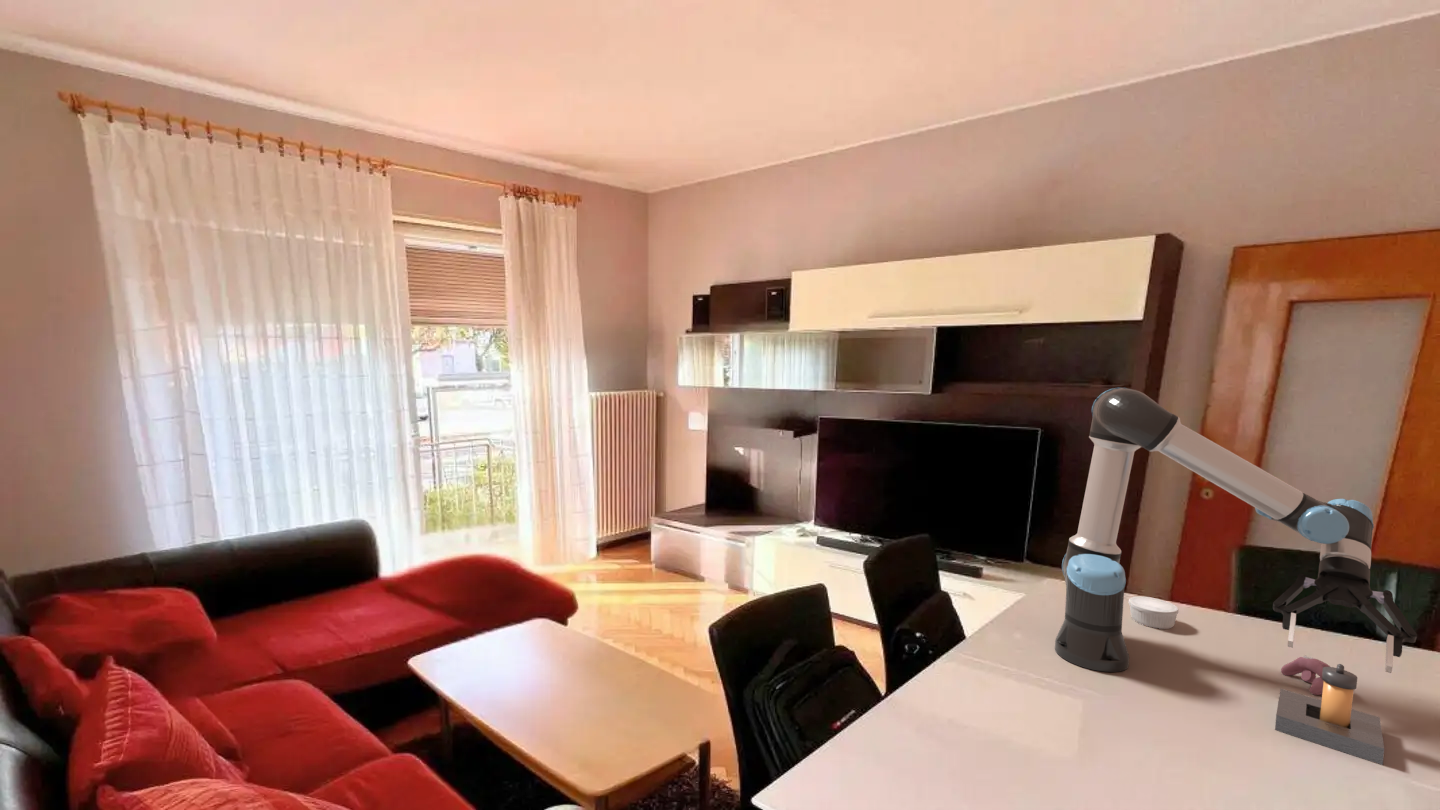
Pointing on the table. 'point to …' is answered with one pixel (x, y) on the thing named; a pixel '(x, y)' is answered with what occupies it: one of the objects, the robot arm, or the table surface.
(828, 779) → the table surface
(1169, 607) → the ramekin
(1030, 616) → the table surface
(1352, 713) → the grey square socket block
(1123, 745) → the table surface
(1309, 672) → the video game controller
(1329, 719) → the orange lidded canister
